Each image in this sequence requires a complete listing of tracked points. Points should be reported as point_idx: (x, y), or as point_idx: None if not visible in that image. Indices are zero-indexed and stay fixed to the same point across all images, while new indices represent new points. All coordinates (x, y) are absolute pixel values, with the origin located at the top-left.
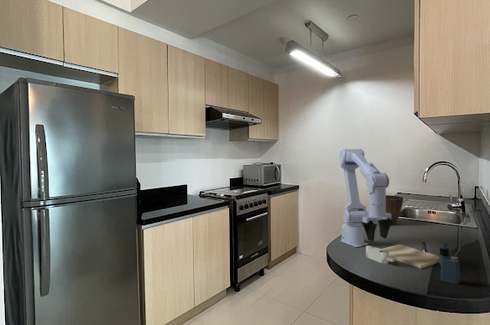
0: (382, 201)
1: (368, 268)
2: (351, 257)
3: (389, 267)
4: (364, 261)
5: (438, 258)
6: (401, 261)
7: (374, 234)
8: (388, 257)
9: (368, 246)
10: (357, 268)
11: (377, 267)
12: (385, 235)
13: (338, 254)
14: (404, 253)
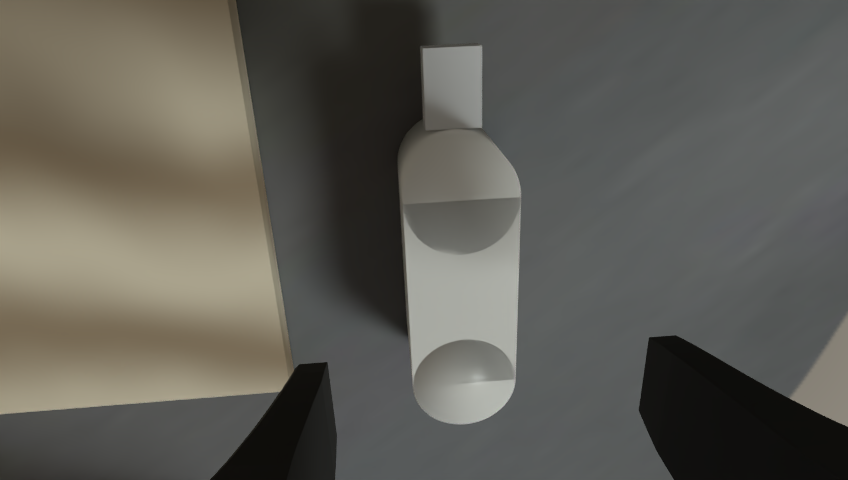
0: None
1: (745, 112)
2: (623, 372)
3: (530, 27)
4: (609, 257)
5: None
6: (247, 77)
7: (725, 396)
8: (456, 120)
9: (465, 405)
10: (830, 160)
11: (643, 89)
12: (322, 394)
13: (658, 459)
14: (27, 200)
